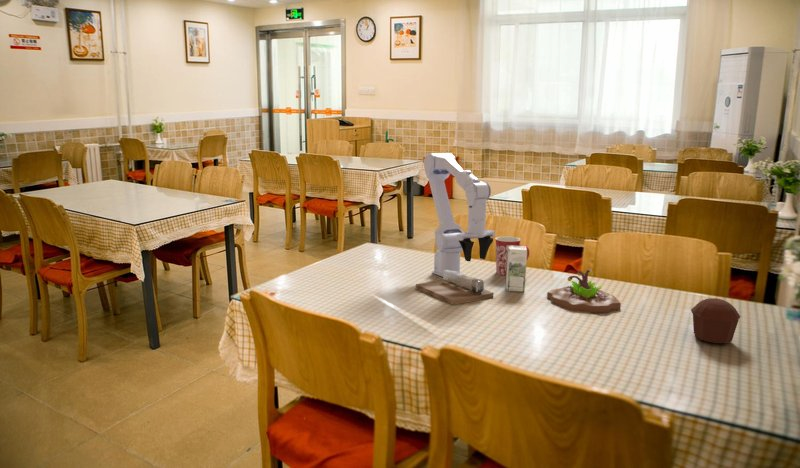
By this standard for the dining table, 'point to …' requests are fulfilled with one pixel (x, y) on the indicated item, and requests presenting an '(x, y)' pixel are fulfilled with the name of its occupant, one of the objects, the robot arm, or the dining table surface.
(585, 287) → the plant
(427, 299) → the dining table surface
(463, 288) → the label board
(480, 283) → the swing bar
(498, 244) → the mug
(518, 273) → the syrup box
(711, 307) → the muffin
